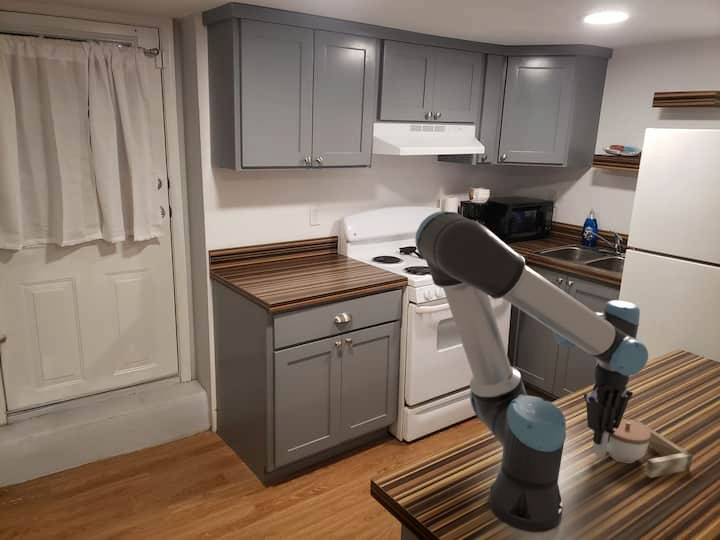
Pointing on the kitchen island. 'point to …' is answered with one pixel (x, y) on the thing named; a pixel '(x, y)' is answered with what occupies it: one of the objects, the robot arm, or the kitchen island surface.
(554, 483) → the robot arm
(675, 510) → the kitchen island surface
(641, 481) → the kitchen island surface
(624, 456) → the lidded jar
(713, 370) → the kitchen island surface
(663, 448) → the birch dock
